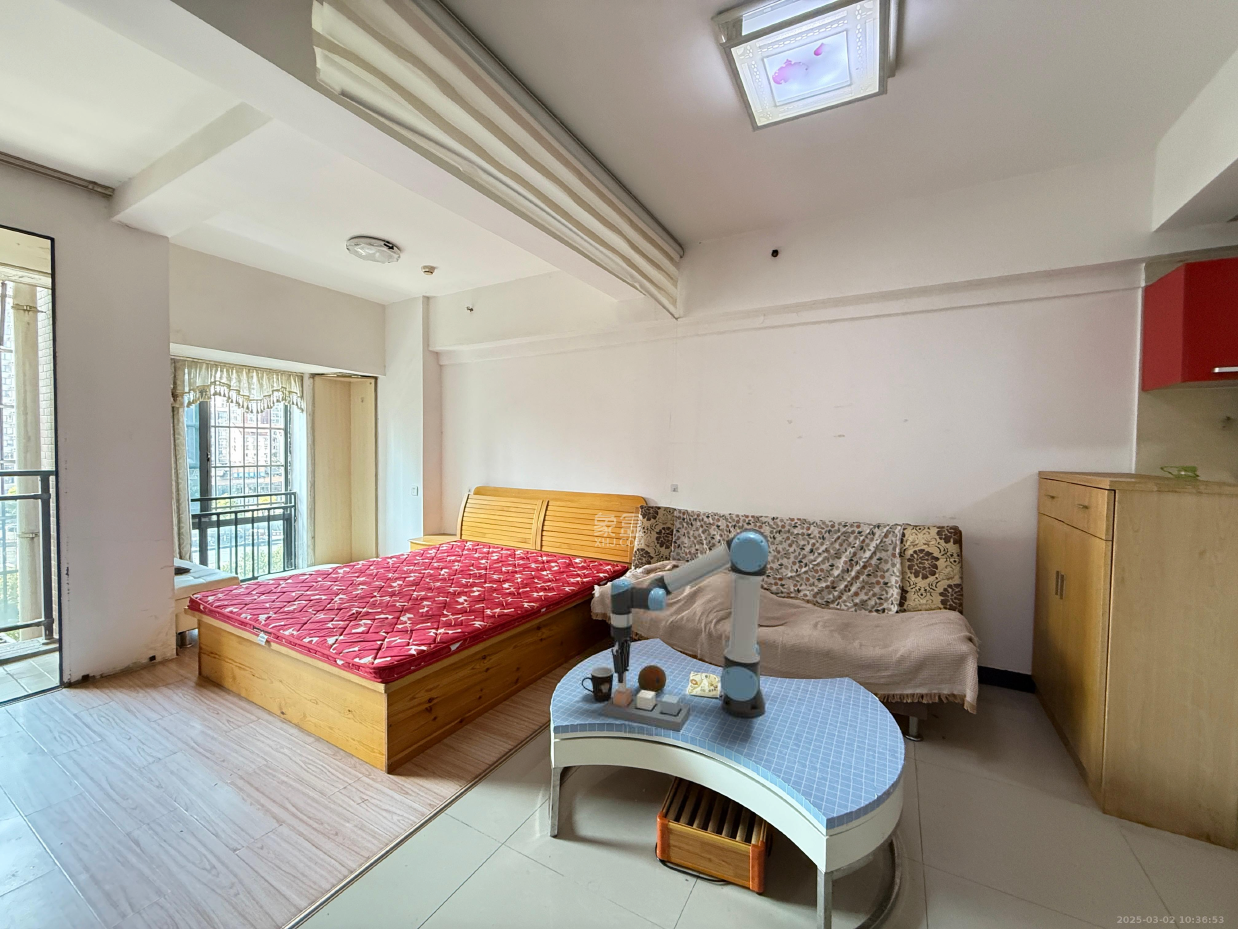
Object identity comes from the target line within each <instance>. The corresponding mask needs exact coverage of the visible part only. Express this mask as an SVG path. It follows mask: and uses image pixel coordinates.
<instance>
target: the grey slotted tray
mask: <svg viewBox="0 0 1238 929" xmlns="http://www.w3.org/2000/svg"><path fill="white" fill-rule="evenodd" d="M602 716H603V717H608V718H613V719H616V720H617V719H618V720H623V721H628V722H633V723H636V724H637V723H638V724H642V725H647V726H650V727H651V726H652V727H656V728H661V729H666V730H671V731H675V732H681V731H682V729H683V728H684V726H685V724H686V723H687V721H688V720H689V718H690V717H691V705H686V704H682V703H680V710H679V711H678V713H677V714H676V715H673V714H668V713H663V712H662V699H661V700H660V699H656V704H655V705H654V706H653V708H652V709H651V710H647V709H642V708H637V695H634V694H633V695H632V701H631V702H630V703H629V705H628V706H627V707H624V706H619V705H613V696H611V699H610V700H609V701H608V702H605V703H604V704H603V705H602Z"/></svg>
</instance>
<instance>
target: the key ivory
mask: <svg viewBox="0 0 1238 929" xmlns="http://www.w3.org/2000/svg"><path fill="white" fill-rule="evenodd" d="M636 696H637V708H642V709H647V710H651V709H652V708H653V706H654V705H655V704H656V700H657V699H656V693H655V692H651V691H646V690H642V689H641V690H640V691H639V693H638V694H637V695H636ZM642 709H641V710H642ZM647 710H646V711H647Z"/></svg>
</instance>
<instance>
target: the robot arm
mask: <svg viewBox="0 0 1238 929" xmlns="http://www.w3.org/2000/svg"><path fill="white" fill-rule="evenodd" d="M769 546H770V543H769V539H768V537H767V535H765V533H764V532H762V531H761V530H759V529H757V528H754V527H748V528H744V529H742V530H740V531H739V532H738V533H736V534H735V535H733V536H731V538H728V539H726V540H724V543H723V544H722V545H721V546H719V547H716V548H714V549H712V550H710V551H709V552H706V553H705V554H703V555H701V556H699V557H696V558H695V559H692V560H690V561H688V562H687V563H684V564H683V565H681V566H678V567H677V568H674V569H673V570H670V571H669V572H666V573H665V574H664V575H663V574H662V575H661V576H657V577H655V578H653V579H651V580H650V581H649V583H648V584H646V585H645V587H639V586H633V583H632V581H631V580H630V579H626V578H625V579H624V578H621V579H614V580H613V581H612V582H611V583H610V593H609V594H610V613H609V616H610V623H611V625H610V634H611V635H610V636H611V637H613V638H614V644H613V645H614V648H611V651H610V653H611V654H612V655H611V656H612V662H613V670H614V673H615V674H617V689H618V691H621V692H625V691H626V689H627V673H628V672H629V671H630V669H629V667H630V659H631V658H630V656H631V645H632V638H630V637H631V636H633V610H642V611H643V610H645V611H652V612H655V611H656V612H658V611H659V612H661V611H664V609H666V606H667V597H669V596H671V595H673V594H675V593H677V592H679V591H681V590H683V589H685V588H687V587H689V586H691V585H693V584H695V583H698V582H700V581H702V580H704V579H706V578H709V577H710V576H713V575H714V574H716V573H719V572H720V571H723V570H725V569H727V568H728V567H730V568H729V571H730V573H731V574H732V575H733V591H732V604H731V605H732V606H731V616H730V630H729V631H730V632H729V641H727V642H726V643H725V649H724V651H723V660H722V662H723V663H722V671H721V672H722V673H721V675H720V678H719V679H720V684H721V688H722V690H723V693H722V697H721V708H722V709H723V711H724V712H726V713H728V714H729V715H731V716H735V717H737V718H742V719H743V718H745V719H747V718H748V719H751V718H757V717H761V716H762V715H764V714H765V713H766V701H765V697H764V695H763V692H762V689H761V672H760V671H761V668H760V666H761V665H760V664H761V663H760V662H761V656H760V654H761V652H760V646H759V645H758V644H757V639H758V629H759V628H758V624H759V614H760V613H759V612H760V600H761V589H762V580H763V579H764V578H765V577H766V576H767V574H768V573H767V572H768V561H769V560H768V559H769V555H770V547H769Z"/></svg>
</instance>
